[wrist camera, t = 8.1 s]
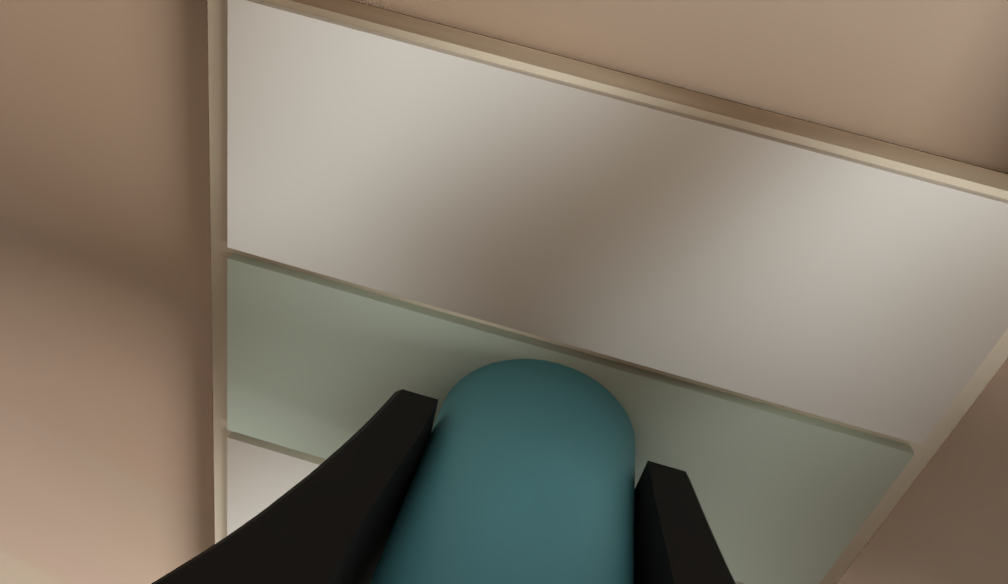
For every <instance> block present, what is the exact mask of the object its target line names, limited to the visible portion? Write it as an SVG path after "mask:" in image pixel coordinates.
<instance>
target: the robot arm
mask: <svg viewBox="0 0 1008 584" xmlns="http://www.w3.org/2000/svg"><path fill="white" fill-rule="evenodd" d="M437 404H438V399H435V398H431V397H428V396H424V395H421V394H417V393H414V392H411V391H407V390H404V389H401V390H399V391H397V392H394V394H393V395H392V396H391V397H390V398H389V399H388V400H387V402H386V403H385V404H384V405H383V406H382V407H381V408H380V409H379V410H378V411H377V412H376V413H375V414H374V415H373V416H372V417H371V418H370V419H369V420H368V421H367V422H366V423H365V424H364V425H363V426H362V427H361V428H360V429H359V430H358V431H357V432H356V433H355V434H354V435H353V436H352V437H351V438H350V439H349V440H348V441H347V442H345V443H344V444H343V445H342V446H341V447H340V448H339V449H338V450H336V451H335V452H334V453H333V454H332V455H331V456H330V457H328V458H327V459H326V460H325V461H324V462H323V463H322V464H321V465H319V466H318V467H317V468H316V469H315V470H314V471H312V472H311V473H310V474H309V475H308V476H306V477H305V478H304V479H303V480H301V481H300V482H299V483H298V484H296V485H295V486H294V487H292V488H291V489H290V490H289V491H287V492H286V493H285V494H284V495H282V496H281V497H280V498H278V499H277V500H276V501H275V502H273V503H272V504H271V505H270V506H268V507H267V508H266V509H264V510H263V511H262V512H260V513H259V514H258V515H256V516H255V517H253V518H252V519H251V520H249V521H248V522H246V523H245V524H244V525H242V526H241V527H239V528H238V529H236V530H235V531H234V532H232V533H231V534H229V535H228V536H226V537H225V538H223V539H222V540H220V541H219V542H217V543H216V544H214V545H213V546H211V547H210V548H208V549H207V550H205V551H204V552H202V553H201V554H199V555H198V556H196V557H194V558H193V559H191V560H189V561H188V562H186V563H184V564H183V565H181V566H180V567H178V568H176V569H175V570H173V571H171V572H170V573H168V574H166V575H165V576H163V577H162V578H160V579H158V580H157V581H155V582H153V583H152V584H370V582H371V579H372V577H373V574H374V572H375V569H376V567H377V565H378V562H379V560H380V557H381V555H382V552H383V550H384V547H385V545H386V542H387V540H388V538H389V535H390V533H391V530H392V528H393V525H394V523H395V520H396V518H397V515H398V513H399V510H400V508H401V506H402V503H403V501H404V498H405V496H406V493H407V491H408V488H409V486H410V484H411V481H412V479H413V477H414V474H415V472H416V469H417V467H418V464H419V462H420V460H421V457H422V455H423V452H424V450H425V447H426V445H427V442H428V440H429V437H430V435H431V432H432V427H433V422H434V418H435V413H436V408H437ZM634 584H736V583H735V581H734V579H733V577H732V575H731V573H730V571H729V568H728V566H727V564H726V562H725V560H724V558H723V555H722V553H721V551H720V549H719V547H718V544H717V542H716V540H715V537H714V535H713V533H712V531H711V528H710V526H709V524H708V521H707V519H706V517H705V514H704V512H703V510H702V507H701V505H700V502H699V500H698V498H697V495H696V493H695V490H694V488H693V486H692V483H691V481H690V479H689V477H688V475H687V473H686V471H682V470H679V469H675V468H672V467H668V466H665V465H662V464H658V463H655V462H651V461H647V463H646V466H645V468H644V470H643V472H642V474H641V477H640V479H639V481H638V483H637V485H636V488H635V511H634Z"/></svg>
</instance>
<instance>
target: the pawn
mask: <svg viewBox="0 0 1008 584" xmlns="http://www.w3.org/2000/svg"><path fill="white" fill-rule="evenodd" d="M634 511H635V436H634V431H633V427H632V424H631V422H630V419H629V417H628V415H627V413H626V412H625V410H624V408H623V407H622V405H621V404H620V403H619V401H618V400H617V399H616V398H615V397H614V396H613V395H612V394H611V393H610V392H609V391H608V390H607V389H606V388H605V387H604V386H602V385H601V384H600V383H599V382H597V381H596V380H594V379H592V378H591V377H589V376H588V375H586V374H584V373H582V372H580V371H578V370H575V369H573V368H571V367H568V366H565V365H562V364H559V363H554V362H550V361H545V360H537V359H512V360H504V361H499V362H495V363H491V364H489V365H486V366H483V367H480V368H478V369H477V370H475V371H473V372H471V373H469V374H468V375H466V376H465V377H464V378H462V379H461V380H460V381H459V382H458V383H457V384H456V385H455V386H454V387H453V388H452V389H451V391H450V392H449V393H448V395H447V397H446V399H445V401H444V403H443V405H442V407H441V410H440V412H439V415H438V417H437V419H436V422H435V424H434V427H433V429H432V432H431V435H430V437H429V440H428V442H427V445H426V447H425V450H424V452H423V455H422V457H421V460H420V462H419V464H418V467H417V469H416V472H415V474H414V477H413V479H412V481H411V484H410V486H409V488H408V491H407V493H406V496H405V498H404V501H403V503H402V506H401V508H400V510H399V513H398V515H397V518H396V520H395V523H394V525H393V528H392V530H391V533H390V535H389V538H388V540H387V542H386V545H385V547H384V550H383V552H382V555H381V557H380V560H379V562H378V565H377V567H376V569H375V572H374V574H373V577H372V579H371V582H370V584H634Z"/></svg>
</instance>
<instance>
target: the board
mask: <svg viewBox="0 0 1008 584" xmlns="http://www.w3.org/2000/svg"><path fill="white" fill-rule="evenodd" d="M207 4H208V76H209V149H210V221H211V294H212V366H213V439H214V511H215V544H216V543H217V542H219V541H220V540H222V539H223V538H225V537H226V536H228V535H229V534H231V533H232V532H234V531H235V530H236V529H238V528H239V527H241V526H242V525H244V524H245V523H246V522H248V521H249V520H251V519H252V518H253V517H255V516H256V515H258V514H259V513H260V512H262V511H263V510H264V509H266V508H267V507H268V506H270V505H271V504H272V503H273V502H275V501H276V500H277V499H278V498H280V497H281V496H282V495H284V494H285V493H286V492H287V491H289V490H290V489H291V488H292V487H294V486H295V485H296V484H298V483H299V482H300V481H301V480H303V479H304V478H305V477H306V476H308V475H309V474H310V473H311V472H312V471H314V470H315V469H316V468H317V467H318V466H319V465H321V464H322V463H323V462H324V461H325V460H326V459H327V458H328V457H330V456H331V455H332V454H333V453H334V452H335V451H336V450H338V449H339V448H340V447H341V446H342V445H343V444H344V443H345V442H347V441H348V440H349V439H350V438H351V437H352V436H353V435H354V434H355V433H356V432H357V431H358V430H359V429H360V428H361V427H362V426H363V425H364V424H365V423H366V422H367V421H368V420H369V419H370V418H371V417H372V416H373V415H374V414H375V413H376V412H377V411H378V410H379V409H380V408H381V407H382V406H383V405H384V404H385V403H386V402H387V400H388V399H389V398H390V397H391V396H392V395H393V394H394V392H397V391H399V390H401V389H404V390H407V391H411V392H414V393H417V394H421V395H424V396H428V397H431V398H435V399H438V404H437V408H436V413H435V418H434V422H433V427H434V424H435V422H436V419H437V417H438V415H439V412H440V410H441V407H442V405H443V403H444V401H445V399H446V397H447V395H448V393H449V392H450V391H451V389H452V388H453V387H454V386H455V385H456V384H457V383H458V382H459V381H460V380H461V379H462V378H464V377H465V376H466V375H468V374H469V373H471V372H473V371H475V370H477V369H478V368H480V367H483V366H486V365H489V364H491V363H495V362H499V361H504V360H512V359H537V360H545V361H550V362H554V363H559V364H562V365H565V366H568V367H571V368H573V369H575V370H578V371H580V372H582V373H584V374H586V375H588V376H589V377H591V378H592V379H594V380H596V381H597V382H599V383H600V384H601V385H602V386H604V387H605V388H606V389H607V390H608V391H609V392H610V393H611V394H612V395H613V396H614V397H615V398H616V399H617V400H618V401H619V403H620V404H621V405H622V407H623V408H624V410H625V412H626V413H627V415H628V417H629V419H630V422H631V424H632V427H633V431H634V436H635V488H636V485H637V483H638V481H639V479H640V477H641V474H642V472H643V470H644V468H645V466H646V463H647V461H651V462H655V463H658V464H662V465H665V466H668V467H672V468H675V469H679V470H682V471H686V473H687V475H688V477H689V479H690V481H691V483H692V486H693V488H694V490H695V493H696V495H697V498H698V500H699V502H700V505H701V507H702V510H703V512H704V514H705V517H706V519H707V521H708V524H709V526H710V528H711V531H712V533H713V535H714V537H715V540H716V542H717V544H718V547H719V549H720V551H721V553H722V555H723V558H724V560H725V562H726V564H727V566H728V568H729V571H730V573H731V575H732V577H733V579H734V581H735V583H736V584H836V583H837V582H838V581H839V579H840V578H841V577H842V576H843V574H844V573H845V572H846V570H847V569H848V568H849V566H850V565H851V564H852V562H853V561H854V560H855V558H856V557H857V556H858V554H859V553H860V552H861V550H862V549H863V548H864V547H865V545H866V544H867V543H868V541H869V540H870V539H871V537H872V536H873V535H874V533H875V532H876V531H877V529H878V528H879V527H880V525H881V524H882V523H883V521H884V520H885V519H886V518H887V516H888V515H889V514H890V512H891V511H892V510H893V508H894V507H895V506H896V504H897V503H898V502H899V500H900V499H901V498H902V496H903V495H904V494H905V492H906V491H907V490H908V489H909V487H910V486H911V485H912V483H913V482H914V481H915V479H916V478H917V477H918V475H919V474H920V473H921V471H922V470H923V469H924V467H925V466H926V465H927V463H928V462H929V461H930V460H931V458H932V457H933V456H934V454H935V453H936V452H937V450H938V449H939V448H940V446H941V445H942V444H943V442H944V441H945V440H946V438H947V437H948V436H949V434H950V433H951V432H952V431H953V429H954V428H955V427H956V425H957V424H958V423H959V421H960V420H961V419H962V417H963V416H964V415H965V413H966V412H967V411H968V409H969V408H970V407H971V405H972V404H973V403H974V402H975V400H976V399H977V398H978V396H979V395H980V394H981V392H982V391H983V390H984V388H985V387H986V386H987V384H988V383H989V382H990V380H991V379H992V378H993V376H994V375H995V374H996V373H997V371H998V370H999V369H1000V367H1001V366H1002V365H1003V363H1004V362H1005V361H1006V359H1007V358H1008V174H1004V173H1000V172H997V171H993V170H989V169H985V168H981V167H978V166H974V165H970V164H966V163H963V162H959V161H955V160H951V159H947V158H944V157H940V156H936V155H932V154H929V153H925V152H921V151H917V150H913V149H910V148H906V147H902V146H898V145H895V144H891V143H887V142H883V141H879V140H876V139H872V138H868V137H864V136H861V135H857V134H853V133H849V132H845V131H842V130H838V129H834V128H830V127H827V126H823V125H819V124H815V123H811V122H808V121H804V120H800V119H796V118H792V117H789V116H785V115H781V114H777V113H774V112H770V111H766V110H762V109H758V108H755V107H751V106H747V105H743V104H740V103H736V102H732V101H728V100H724V99H721V98H717V97H713V96H709V95H706V94H702V93H698V92H694V91H690V90H687V89H683V88H679V87H675V86H672V85H668V84H664V83H660V82H656V81H653V80H649V79H645V78H641V77H638V76H634V75H630V74H626V73H622V72H619V71H615V70H611V69H607V68H604V67H600V66H596V65H592V64H588V63H585V62H581V61H577V60H573V59H570V58H566V57H562V56H558V55H554V54H551V53H547V52H543V51H539V50H536V49H532V48H528V47H524V46H520V45H517V44H513V43H509V42H505V41H502V40H498V39H494V38H490V37H486V36H483V35H479V34H475V33H471V32H468V31H464V30H460V29H456V28H452V27H449V26H445V25H441V24H437V23H433V22H430V21H426V20H422V19H418V18H415V17H411V16H407V15H403V14H399V13H396V12H392V11H388V10H384V9H381V8H377V7H373V6H369V5H365V4H362V3H358V2H354V1H350V0H207ZM433 427H432V429H433Z"/></svg>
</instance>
